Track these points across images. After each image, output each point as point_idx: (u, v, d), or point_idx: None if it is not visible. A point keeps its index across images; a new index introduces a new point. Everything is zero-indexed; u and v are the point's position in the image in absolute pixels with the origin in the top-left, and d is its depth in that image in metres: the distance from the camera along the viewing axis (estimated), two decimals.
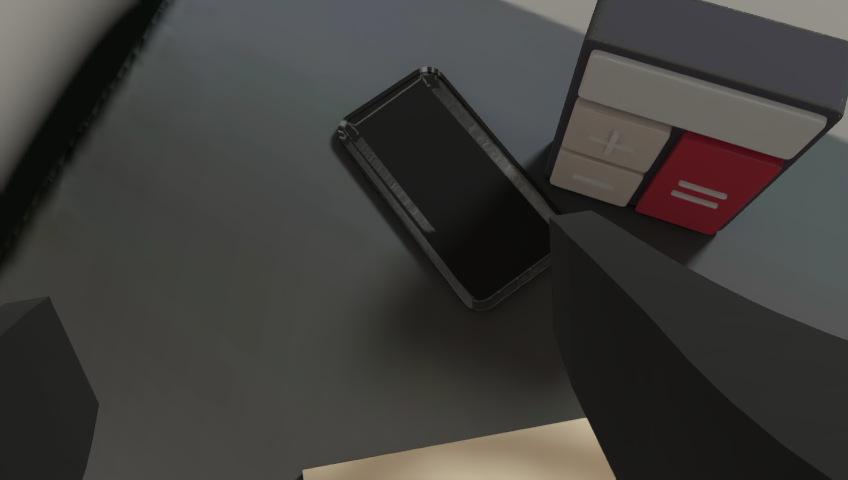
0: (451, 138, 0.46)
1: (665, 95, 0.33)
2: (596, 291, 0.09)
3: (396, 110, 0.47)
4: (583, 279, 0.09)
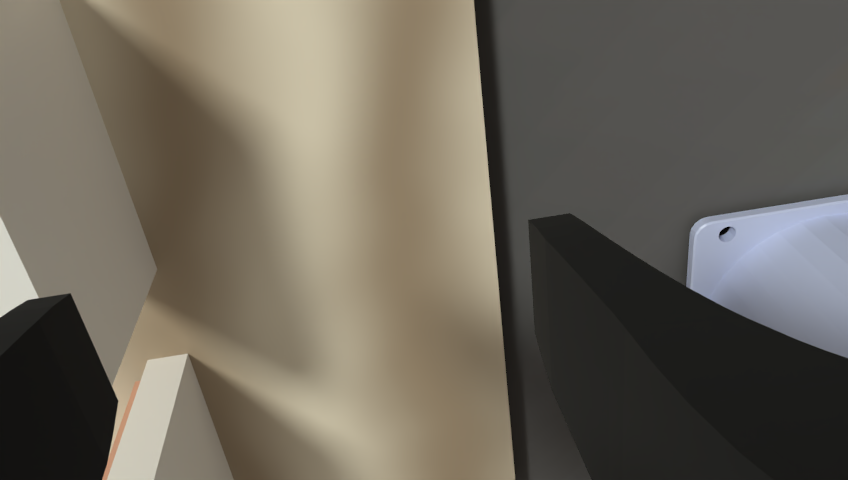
0: None
1: None
2: (572, 295, 0.09)
3: None
4: (560, 283, 0.09)
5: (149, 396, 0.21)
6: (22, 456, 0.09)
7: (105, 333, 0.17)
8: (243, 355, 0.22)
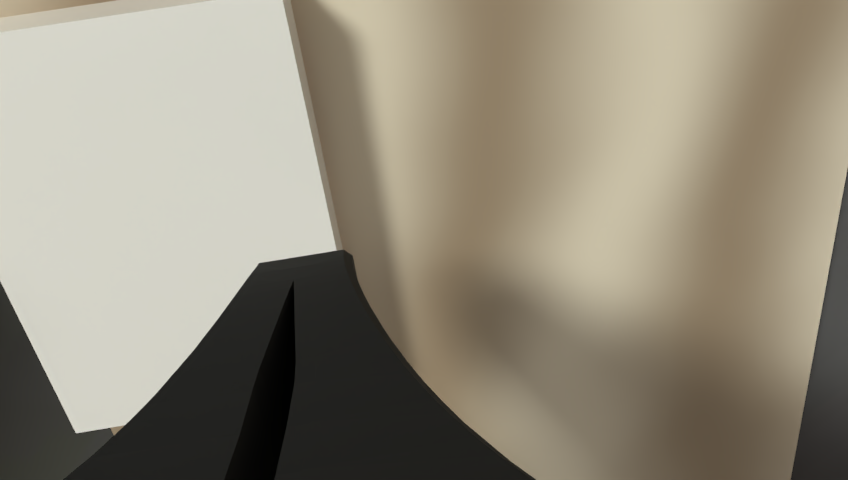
0: None
1: None
2: None
3: None
4: None
5: None
6: None
7: (150, 382, 0.15)
8: (503, 426, 0.19)
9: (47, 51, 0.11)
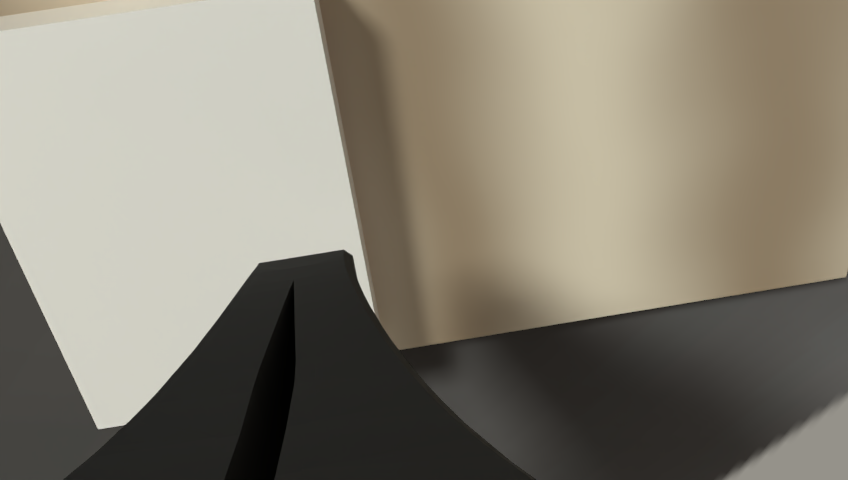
0: None
1: None
2: None
3: None
4: None
5: None
6: None
7: None
8: None
9: None
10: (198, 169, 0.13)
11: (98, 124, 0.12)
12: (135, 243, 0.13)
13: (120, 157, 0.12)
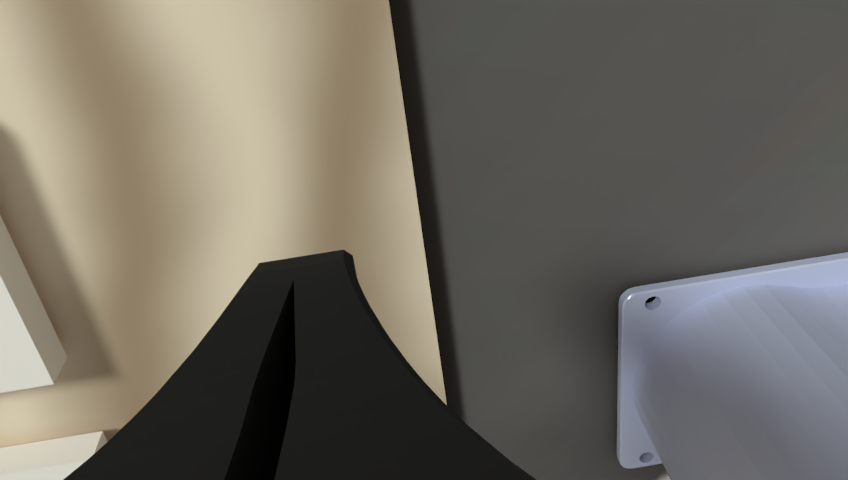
0: None
1: None
2: None
3: None
4: None
5: (43, 449, 0.23)
6: None
7: None
8: None
9: None
10: None
11: None
12: None
13: None
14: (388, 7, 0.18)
